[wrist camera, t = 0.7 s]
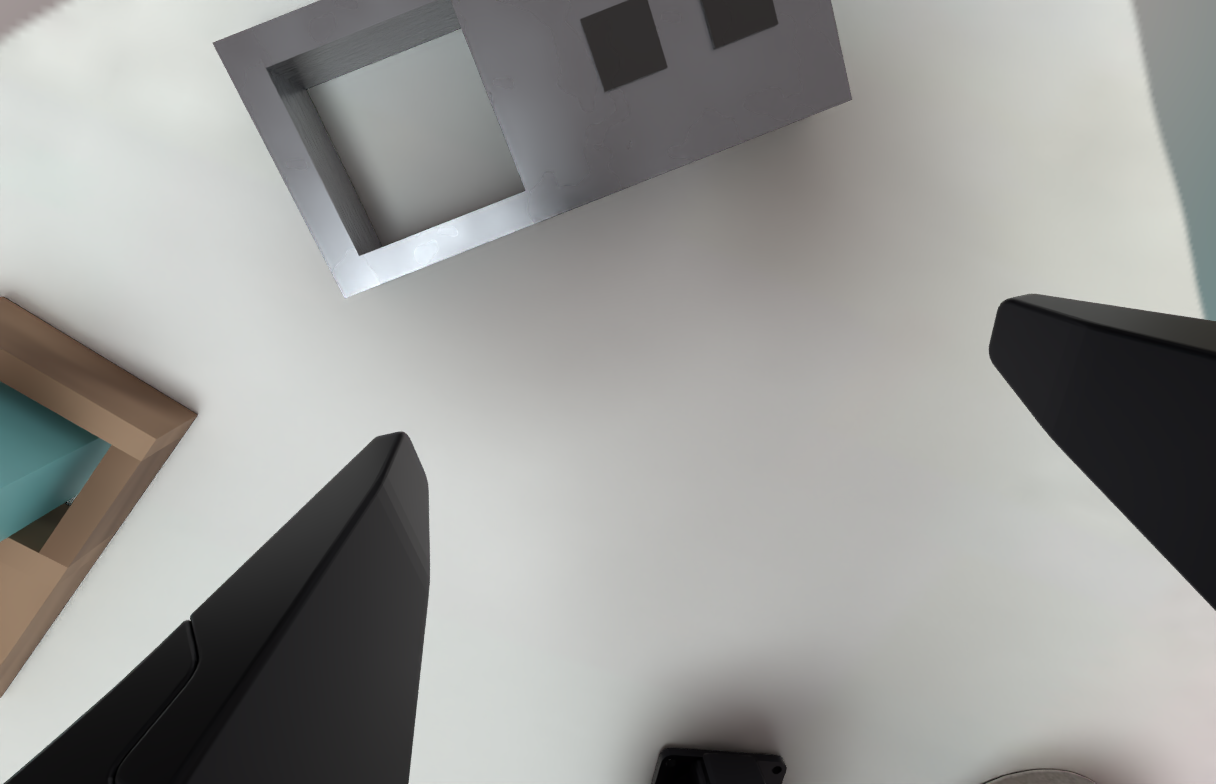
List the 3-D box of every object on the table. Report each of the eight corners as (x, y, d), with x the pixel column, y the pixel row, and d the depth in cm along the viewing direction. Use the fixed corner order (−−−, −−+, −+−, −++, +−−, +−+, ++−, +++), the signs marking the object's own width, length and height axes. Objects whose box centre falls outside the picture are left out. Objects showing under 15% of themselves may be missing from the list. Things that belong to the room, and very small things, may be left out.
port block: (810, 114, 21) (854, 98, 18) (370, 286, 21) (343, 298, 18) (753, -126, 19) (792, -190, 16) (261, 67, 19) (209, 41, 16)
